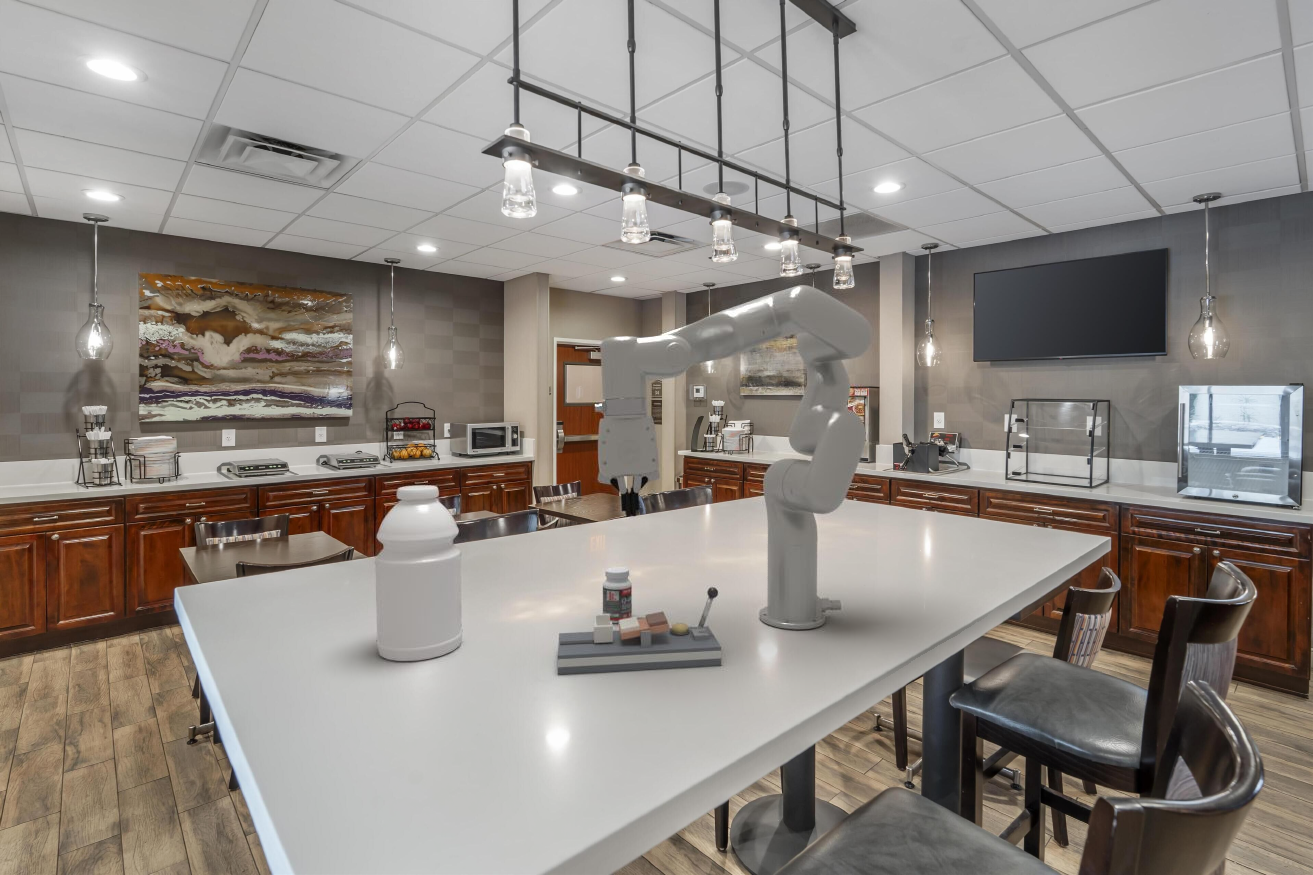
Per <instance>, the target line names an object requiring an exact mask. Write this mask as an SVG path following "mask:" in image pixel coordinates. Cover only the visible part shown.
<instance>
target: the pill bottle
mask: <svg viewBox="0 0 1313 875" xmlns="http://www.w3.org/2000/svg"><path fill="white" fill-rule="evenodd" d="M604 575H605V577H606V579H605V580H604V581H603V582H602V614H610V622H611V621H612V624H618V623H619V620H621V619H627V618H632V615H633V614H632V612H633V611H632V610H633V609H632V606H633V605H632V602H633V599H632V598H633V595H632V594H633V593H632V592H633V591H632V582H631V580H630V579H629V576H630V569H629V568H628V567H624V566H613V567H608V568H606V569H605V574H604Z"/></svg>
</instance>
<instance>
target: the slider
mask: <svg viewBox="0 0 1313 875" xmlns="http://www.w3.org/2000/svg"><path fill="white" fill-rule="evenodd" d="M595 616H596V617H595V619H596V620H595V622H593V632H594V643H603V642H613V631H614V629H613V627H614V626H613V623H612V621H611V622H610V614H603V613H596V614H595Z"/></svg>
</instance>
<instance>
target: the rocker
mask: <svg viewBox="0 0 1313 875" xmlns="http://www.w3.org/2000/svg"><path fill="white" fill-rule="evenodd" d="M645 617H646V618H642V619H637V616H633V617H631V618H627V619H621V620H619V623H617V624H618V630H620V635H621V640H623V639H628V638H633V637H638V636H641V631H647V630H651V634H653V633H658V632H663V631H669V630H670V628H671V627H670V623H669V621H668V619H667V617H666V615H665V613H664V611H659V612H654V613H649V614H645Z"/></svg>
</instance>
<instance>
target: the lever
mask: <svg viewBox="0 0 1313 875" xmlns="http://www.w3.org/2000/svg"><path fill="white" fill-rule="evenodd" d="M706 593H707V596H708V597H707V599H706V602H705V605H704V608H703V611H702V614H701V616H700V619H699V622H698V626H697V627H698V628H699V629H703V627H704V626H705V625H706V621H707V618H708V616H709V613H710V610H711V607H712V604H713V601H714V599H716V598H717V597H718V595H719V591H718V589H717V588H716V587H715V586H714V587H713V586H711V587H709V588H708V589H707V591H706Z"/></svg>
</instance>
